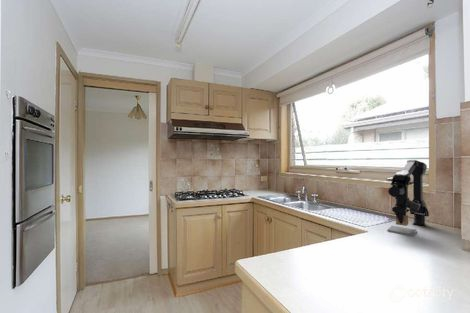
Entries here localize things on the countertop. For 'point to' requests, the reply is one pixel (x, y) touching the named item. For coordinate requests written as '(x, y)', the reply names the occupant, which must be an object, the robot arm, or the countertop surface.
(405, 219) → the walnut block
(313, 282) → the countertop surface
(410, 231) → the slate coaster
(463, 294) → the countertop surface
